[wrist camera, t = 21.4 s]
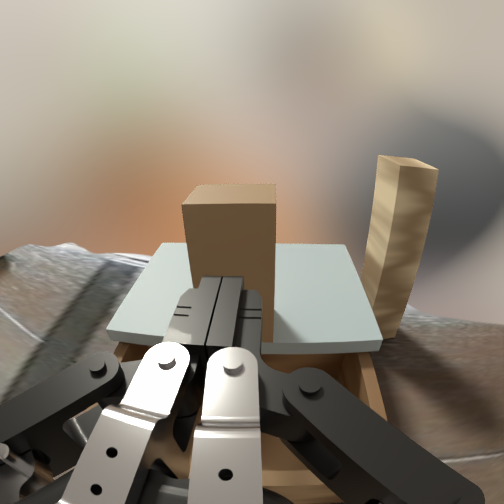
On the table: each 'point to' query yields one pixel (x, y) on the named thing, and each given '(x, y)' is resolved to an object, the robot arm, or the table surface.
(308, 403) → the robot arm
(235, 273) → the lid
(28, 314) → the table surface
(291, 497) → the wooden box
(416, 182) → the wooden block
